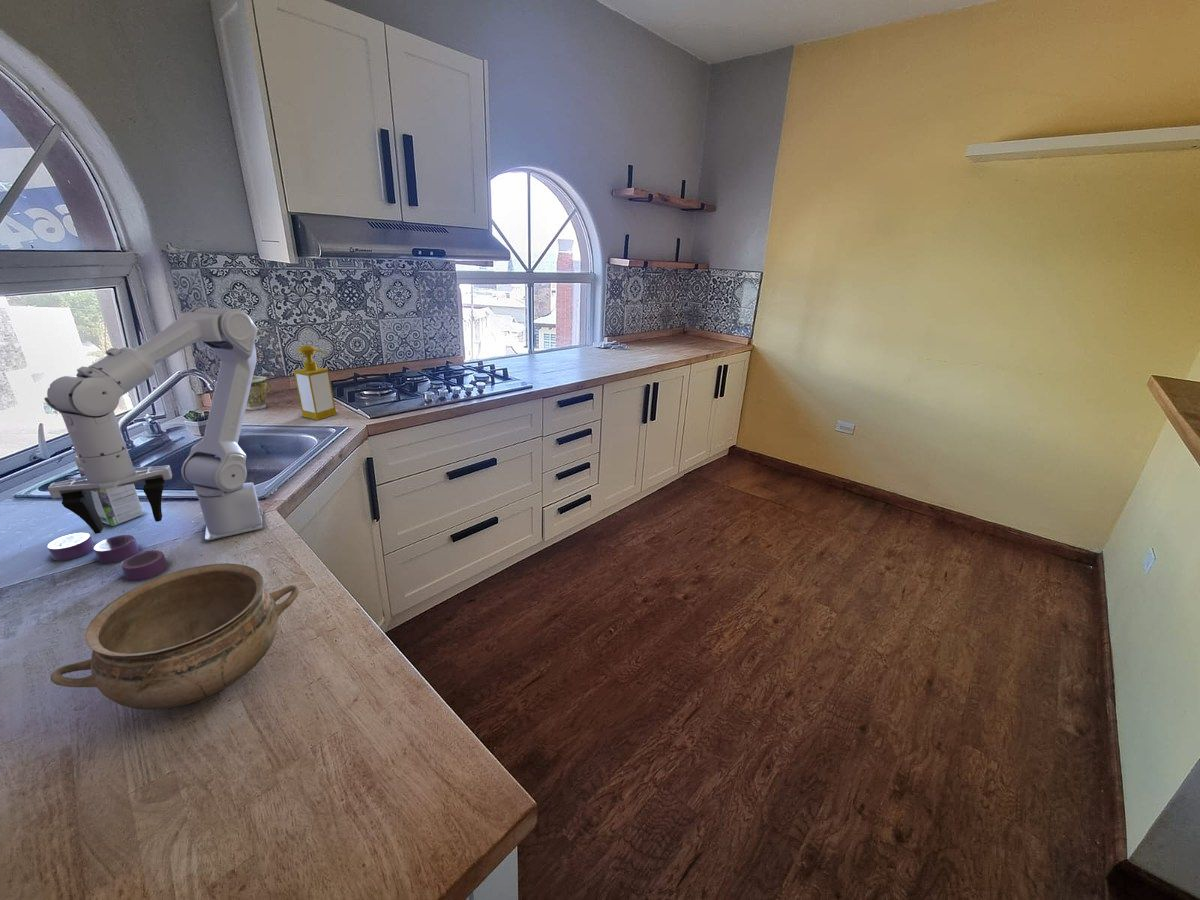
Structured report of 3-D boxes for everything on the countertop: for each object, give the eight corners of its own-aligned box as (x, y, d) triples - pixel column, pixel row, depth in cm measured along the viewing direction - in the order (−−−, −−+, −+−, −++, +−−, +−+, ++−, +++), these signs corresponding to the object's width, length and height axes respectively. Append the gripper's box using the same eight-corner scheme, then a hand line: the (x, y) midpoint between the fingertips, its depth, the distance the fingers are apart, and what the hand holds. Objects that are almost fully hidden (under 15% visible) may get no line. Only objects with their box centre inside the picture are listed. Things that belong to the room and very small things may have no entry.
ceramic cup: (230, 410, 171) (223, 381, 168) (254, 402, 180) (247, 375, 177) (264, 413, 169) (257, 384, 166) (286, 405, 179) (280, 377, 175)
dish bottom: (141, 543, 96) (136, 531, 95) (136, 557, 92) (132, 545, 91) (101, 551, 93) (97, 539, 92) (95, 566, 89) (90, 554, 88)
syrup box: (95, 521, 103) (70, 456, 98) (129, 508, 108) (107, 446, 103) (112, 527, 101) (87, 461, 96) (146, 514, 106) (124, 451, 101)
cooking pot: (293, 602, 82) (277, 538, 77) (328, 671, 69) (311, 599, 64) (80, 682, 66) (44, 608, 61) (74, 791, 53) (28, 707, 49)
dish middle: (169, 558, 92) (165, 546, 91) (165, 574, 88) (161, 562, 87) (128, 567, 89) (124, 555, 88) (123, 584, 85) (118, 572, 84)
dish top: (97, 540, 96) (93, 529, 95) (91, 555, 92) (86, 543, 91) (57, 549, 94) (52, 537, 93) (48, 564, 89) (42, 552, 88)
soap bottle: (328, 422, 163) (315, 350, 154) (302, 416, 168) (288, 346, 159) (347, 416, 169) (335, 346, 160) (322, 410, 174) (309, 342, 165)
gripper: (29, 468, 73) (64, 548, 78) (158, 450, 80) (181, 524, 86) (44, 452, 78) (75, 527, 83) (163, 437, 86) (185, 506, 91)
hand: (129, 524), depth 85 cm, fingers open, 7 cm apart
